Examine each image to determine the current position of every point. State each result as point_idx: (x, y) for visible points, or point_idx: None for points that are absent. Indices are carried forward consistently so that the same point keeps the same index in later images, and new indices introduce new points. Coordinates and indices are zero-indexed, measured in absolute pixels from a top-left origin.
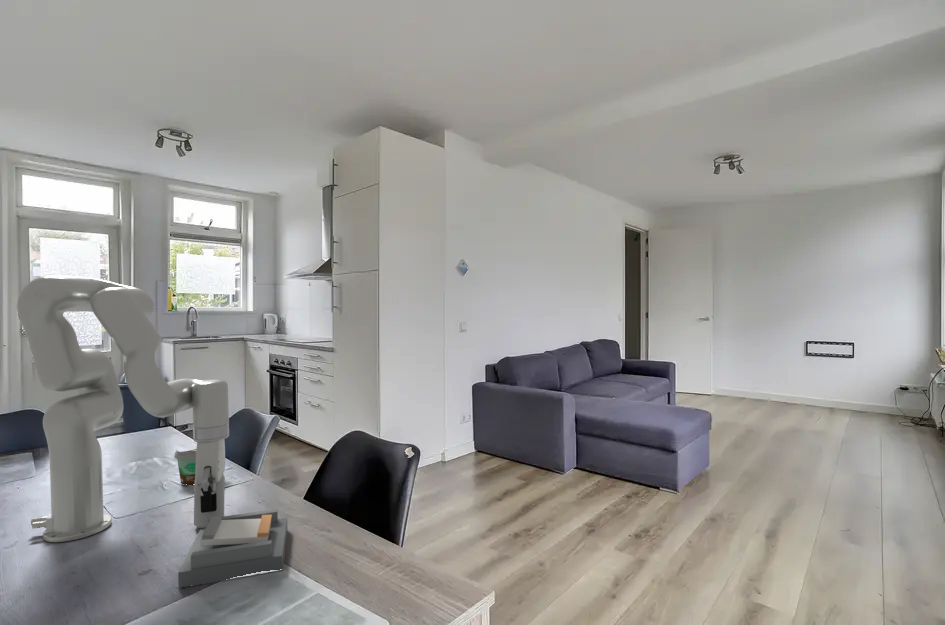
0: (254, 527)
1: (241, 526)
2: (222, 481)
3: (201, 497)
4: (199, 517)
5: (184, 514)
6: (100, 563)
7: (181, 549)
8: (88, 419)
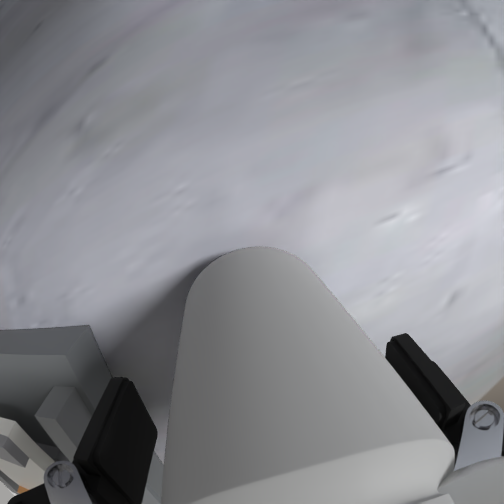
0: None
1: (33, 480)
2: None
3: (82, 450)
4: (183, 319)
5: (417, 132)
6: (12, 39)
7: (48, 271)
8: None
